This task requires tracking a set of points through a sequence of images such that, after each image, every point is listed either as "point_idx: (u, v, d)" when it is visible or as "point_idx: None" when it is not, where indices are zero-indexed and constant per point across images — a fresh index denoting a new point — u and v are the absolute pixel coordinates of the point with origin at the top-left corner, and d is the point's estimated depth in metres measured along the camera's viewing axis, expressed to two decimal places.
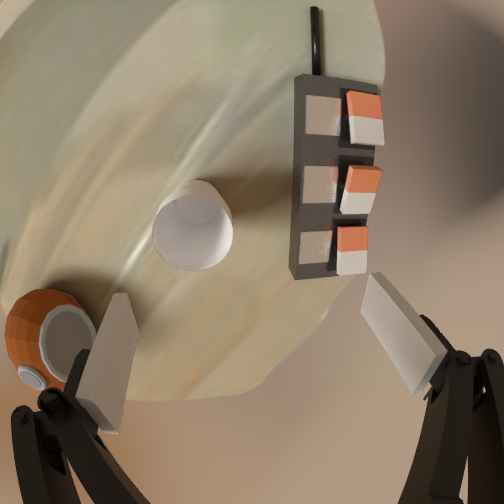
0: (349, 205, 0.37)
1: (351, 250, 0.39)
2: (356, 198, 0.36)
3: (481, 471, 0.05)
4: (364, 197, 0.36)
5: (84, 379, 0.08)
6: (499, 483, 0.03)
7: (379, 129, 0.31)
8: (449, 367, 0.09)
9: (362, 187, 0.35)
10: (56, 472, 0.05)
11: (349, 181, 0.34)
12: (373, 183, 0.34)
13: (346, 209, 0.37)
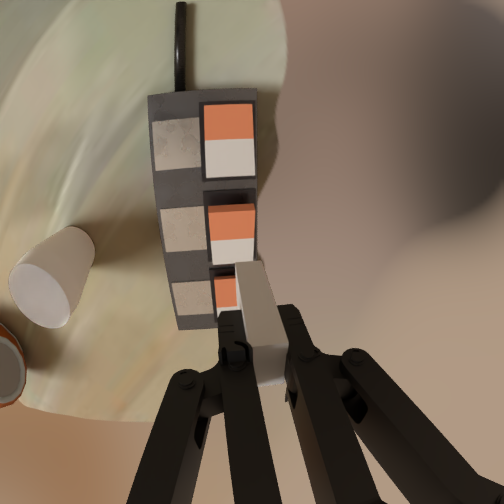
0: (218, 255, 0.30)
1: (231, 305, 0.33)
2: (226, 246, 0.30)
3: (407, 479, 0.06)
4: (237, 244, 0.30)
5: (250, 331, 0.11)
6: (438, 487, 0.04)
7: (248, 153, 0.25)
8: (293, 369, 0.10)
9: (230, 233, 0.29)
10: (195, 446, 0.07)
11: None
12: (244, 226, 0.28)
13: (216, 259, 0.31)
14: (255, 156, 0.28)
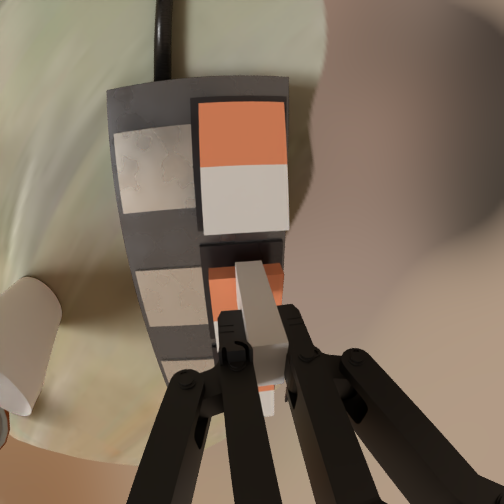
0: None
1: None
2: None
3: (407, 479, 0.06)
4: None
5: (250, 331, 0.11)
6: (438, 487, 0.04)
7: (277, 191, 0.15)
8: (293, 369, 0.10)
9: None
10: (195, 446, 0.07)
11: (211, 301, 0.18)
12: None
13: None
14: None
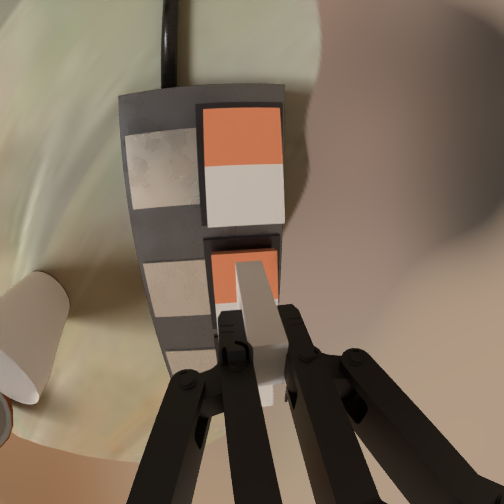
0: None
1: None
2: None
3: (407, 479, 0.06)
4: None
5: (250, 331, 0.11)
6: (438, 487, 0.04)
7: (274, 188, 0.16)
8: (293, 369, 0.10)
9: None
10: (195, 446, 0.07)
11: (213, 282, 0.20)
12: None
13: None
14: None
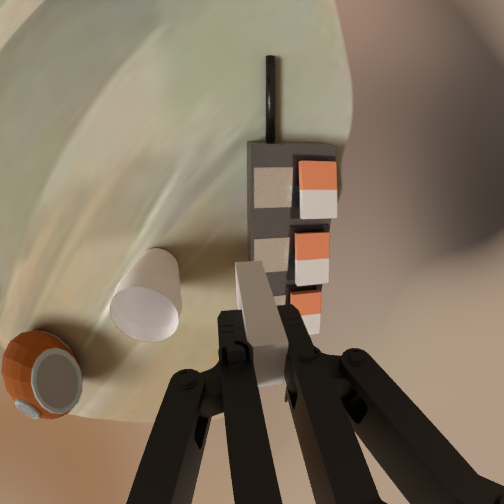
0: (302, 275, 0.37)
1: (303, 314, 0.41)
2: (308, 266, 0.37)
3: (407, 479, 0.06)
4: (316, 264, 0.37)
5: (250, 331, 0.11)
6: (438, 487, 0.04)
7: (333, 201, 0.33)
8: (293, 369, 0.10)
9: (312, 253, 0.37)
10: (195, 446, 0.07)
11: (296, 248, 0.37)
12: (322, 247, 0.37)
13: (300, 280, 0.37)
14: None
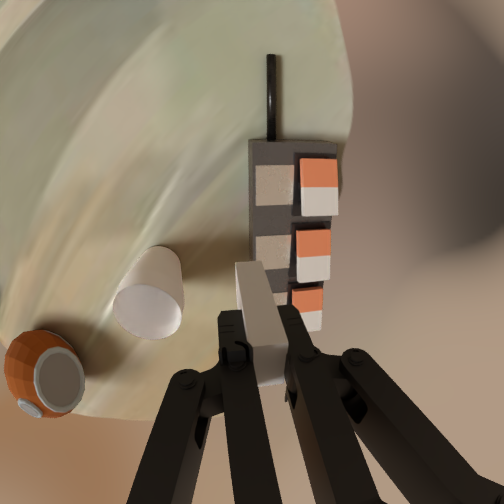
0: (304, 272, 0.38)
1: (305, 311, 0.42)
2: (310, 263, 0.37)
3: (407, 479, 0.06)
4: (318, 261, 0.38)
5: (250, 331, 0.11)
6: (438, 487, 0.04)
7: (334, 198, 0.33)
8: (293, 369, 0.10)
9: (313, 250, 0.37)
10: (195, 446, 0.07)
11: (298, 245, 0.37)
12: (324, 244, 0.37)
13: (302, 277, 0.38)
14: None
